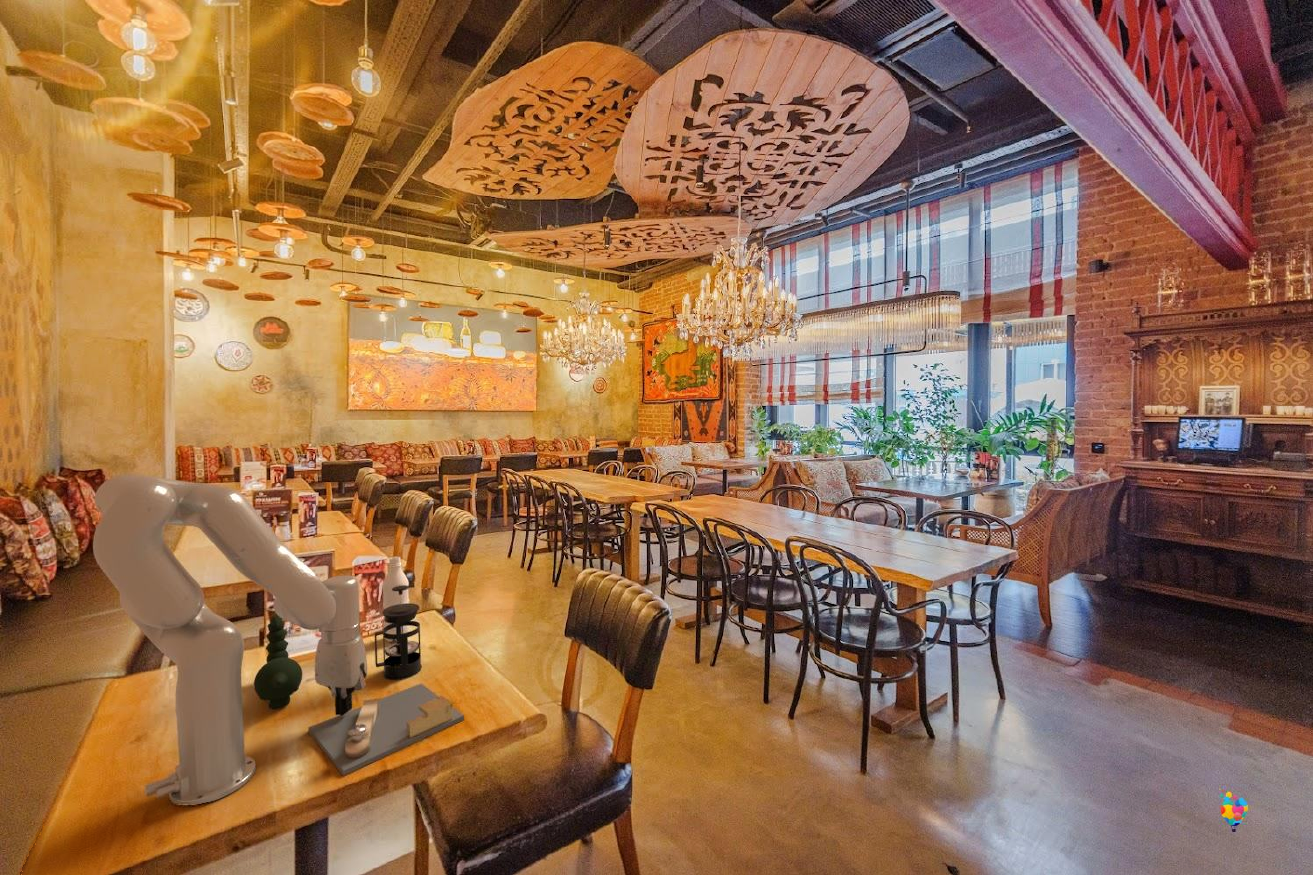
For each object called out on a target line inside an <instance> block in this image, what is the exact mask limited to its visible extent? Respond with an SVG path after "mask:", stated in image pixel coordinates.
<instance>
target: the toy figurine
mask: <svg viewBox="0 0 1313 875" xmlns="http://www.w3.org/2000/svg"><path fill="white" fill-rule="evenodd" d="M285 624H286V622H285V620H284V621H283V618H281V617H280V616H278V615H277V614H273V615H272V616H271V617H270V619H269V623H268V624H267V630H268V631H269V632H268V633H267V634H266V635H265V637H266V639H267V641H268V642H269V643H268V644H267V645H266V646H265V650H266V651H267V653H268V654H267V656H266V663H265V664H264V665H263V666H262V667H260V668H259V670H258V672H257V673H256V674H255V676H254V680H253V688H254V692H255V693H256V696H258V698H259V700H261V701H267V702H268V703H267V706H268V708H269V709H271V710H280V709H283V708H285V707H287V706H288V705H289V704H290V703H291V697H290V696H291V695H293V694H294V693H295V692H298V690H299V689H300V688H299V687H300V685H301V683H302V680H303V670H302V667H301V665H300V664H299V662H298V661H296V660H295V659H294V658H293V659H292V658H289V652H288V651H287V649H288V646H289V642H288V641H286V640H285V639H286V636H287V634H288V631H287V630H286V629H284V628H285Z"/></svg>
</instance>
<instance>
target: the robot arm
mask: <svg viewBox="0 0 1313 875" xmlns="http://www.w3.org/2000/svg"><path fill="white" fill-rule="evenodd" d="M94 505H95V507H96V509H97V510H98V512H99V513H100V514H101V515H102V516H101V518H100V520H99V521H98V523H97V526H96V528H95V531H94V535H93V540H92V549H93V550H92V551H93V552H92V553H93V555H94V559H95V561H96V564H97V565H98V566H99V568H100V569H101V571H102V572H103V573H104V574H105V576H106V577H107V578H108V579H109V581H110V582H111V584H112V585H113V586H114V587H115V588H116V590H117V591H118V593H119V603H120V606H121V608H122V609H123V611H124V612H125V614H126V615H127V616H128V617H129V618H130V620H131V621H132V622H133V623H134V624H135V625H136V626H137V627H138V629H140V631H141V632H142V633H143V634H144V635H145V636H146V637H147V638H148V639H149V640H150V642H151V643H152V644H153V645H154V646H155V647H156V648H157V649H158V650H159V651H160V652H161V653H162V654H163V655H164V656H166V657H167V658H168V659H170V660H171V661H172V662H173V663H174V664H175V665H176V668H177V679H176V686H175V713H176V725H177V726H176V727H177V728H176V729H177V746H178V761H179V764H178V765H176V766H175V767H174V768H175V769H174V770H175V771H174V772H172V773H170V774H168V777H164V778H162V779H159V780H156V781H153V782H150V783H147V784H145V785H144V789H145V791H144V792H145V796H146V797H150V796H152V795H155V794H156V799H160V798H162V797H164V796H167V795H169V796H168V797H169V800H171V801H172V802H173V803H175V804H181V805H183V804H188V805H191V804H200V803H205V802H209V803H211V801H212V802H214V801H217V800H220V799H222V798H224V797H227V796H229V795H231V794H232V793H234V792H235V791H237V790H239V789H240V788H242V787H243V786H244V785H245V784H247V783H248V781H250V780H251V779H252V777H253V776H254V774H255V772H256V762H255V760H254V759H253V758H252V757H250V756H246V751H245V735H244V734H245V732H244V731H245V730H244V729H245V728H244V710H243V707H244V706H243V692H242V691H243V689H242V666H243V660H244V659H243V658H244V652H245V641H244V636H243V634H242V632H241V631H240V629H239V628H238V627H237V625H235V624H234V623H233V622H232V621H230V620H229V619H227V618H225V617H224V616H223V617H222V616H221V615H218V614H217V613H215V612H213V611H212V610H211V609H210V608H209V607H208V605H207V604H206V603H205V594H204V591H203V588H202V586H201V585H200V583H199V582H198V581H197V580H196V578H194V577H193V576H192V575H191V574H190V573H189V572H188V570H187V569H186V568H185V567H184V565H182V563H181V562H180V560H178V559H177V557H176V556H175V554H174V552H173V551H172V550H171V549H170V547H169V546H168V544H167V543H166V540H165V529H166V525H170V526H186V527H195V528H197V529H199V530H200V531H201V532H202V533H203V534H204V535H205V536H206V537H207V538H208V539H209V541H210V542H211V543H213V544H214V545H215V546H216V548H217V549H218V550H219V551H220V552H221V554H222V555H224V557H225V558H226V559H227V561H229V563H231V565H232V566H233V567H234V568H235V569H236V570H237V571H238V572H239V573H240V574H242V575H243V576H244V577H246V578H247V579H248V580H250V581H251V582H253V583H255V584H256V585H258V586H260V587H261V588H263V589H264V590H266V591H267V592H269V594H271V595H272V596H273V597H274V600H273V610H274V612H275V613H276V614H275V615H278V616H280V617H281V618H282V620H284V621H287V622H289V623H291V624H294V625H296V626H298V627H301V628H302V629H304V630H309V631H311V630H312V631H313V630H315V631H316V630H318V632H320V634H321V635H320V637H321V638H320V639H319V640H318V643H317V646H316V651H315V658H314V660H315V661H314V680H315V683H316V684H318V685H320V686H322V687H325V688H328V689H329V691H330V692H331V696H332V698H334V714H335V716H339V715H341V716H343V715H344V714H346V713H347V712H349V711H351V710H353V709H352V708H353V697H352V696H353V693H354V692H355V691H361V690H362V689H364V688H365V687H366V680H365V679H366V678H367V677H368V663H367V662H368V661H367V653H366V647H365V643H364V642H365V641H364V638H363V636H362V635H361V617H360V614H361V613H360V591H359V590H360V587H359V581H358V579H357V577H355V576H353V575H348V574H346V575H338V576H332V577H329V578H327V579H323V580H321V579H320V578H319V576H318V575H317V574H315V572H314V571H313V570H312V569H311V568H309V566H308V565H306V564H305V562H304V561H303V560H301V559H300V558H299V557H298V556H297V555H296V554H295V553H294V552H293V551H292V550H291V549H290V548H289V547H288V546H287V545H286V544H284V542H283V541H282V540H281V539H280V537H279V536H278V535H277V534H276V533H275V532H274V531H273V529H272V528H271V527H270V526H269V524H268V523H267V522H266V521H265V520H264V518H263V517H262V516H261V515H260V514H259V512H258V511H257V510H256V508H255V507H254V506H253V505H252V504H251V503H250V501H249V500H248V499H247V498H246V497H245V496H244V495H243V494H242V493H241V492H240V491H238V490H236V489H233V488H231V487H225V486H221V485H217V484H210V483H204V482H203V483H202V482H192V481H185V480H177V479H170V478H164V477H155V476H149V475H144V474H137V473H127V474H126V473H125V474H120V475H115V476H113V477H111V478H109V479H107V480H105V481H104V482H103V483H101V485H100V486H99V487H98V488H97V490H96V493H95V494H94ZM171 801H170V802H171ZM172 802H171V803H172ZM173 803H172V804H173ZM175 804H174V805H175ZM205 804H206V803H205Z"/></svg>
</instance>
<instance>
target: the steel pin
mask: <svg viewBox="0 0 1313 875" xmlns="http://www.w3.org/2000/svg"><path fill="white" fill-rule="evenodd" d="M365 731H366V725H364V724H358V725H355V726H352V727H351V728H349V730H348V735H350V736H352V742H353V743H357V742H360V741H362V740H363V733H364V732H365Z"/></svg>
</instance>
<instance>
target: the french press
mask: <svg viewBox="0 0 1313 875" xmlns="http://www.w3.org/2000/svg"><path fill="white" fill-rule="evenodd" d="M407 589H408V590H409V589H410V586H409V585H408V586H406V585H401V586H396V587H394V588H392V591H399V595H400V604H398V605H394V606H390V607H388V608H386V609H383V610H382V611H381V612H382V616H383V617H384V623H385V622H387V623H392V624H390V625H388V626H386V627H385V628H384V627H383V629H382V630H381V631H376V632H374V660H375V662H374V663H375V667H376V668H381V667H383V671H382V674H383V675H382V676H383V678H385V679H386V680H387V679H388V680H392V681H398V680H404V679H405V680H406V679H409V678H411V677H413V675H414V676H416V675H417V674H419V673H420V672H421V671H422V669H421V668H423V667H422V666H423V665H422V662H421V661H422V660H421V659H422V658H421V656H422V655H421V654H422V653H421V624H420V622H418V621H416V620H414V619H415V618H416V616H417V614H418V611H419V610H420V606H419V605H418V604H416V603H410V602H409V603H405V604H402V597H401V594H403V591H404V590H407ZM403 626H410V627H411V626H412V627H416V628H415V629H412V630H410V631H409V632H407V633H403ZM395 627H396V634H387V633H385V632H386V631H388V630H390V629H392V628H395ZM417 634H418V641H416V640H415V641H414V640H408V639H409V638H411V637H413V636H415V635H417ZM380 635H382V645H383V648H382V649H383V650H382V651H383V652H382V653H383V662H379V663H378V641H377V640H378V639H377V636H380ZM386 639H394V640H395V639H396V640H395V643H392V644H390V645H387V647H386V644H385V640H386ZM417 651H418V652H417ZM386 656H387V657H386ZM419 671H420V672H419ZM418 672H419V673H418Z"/></svg>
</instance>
